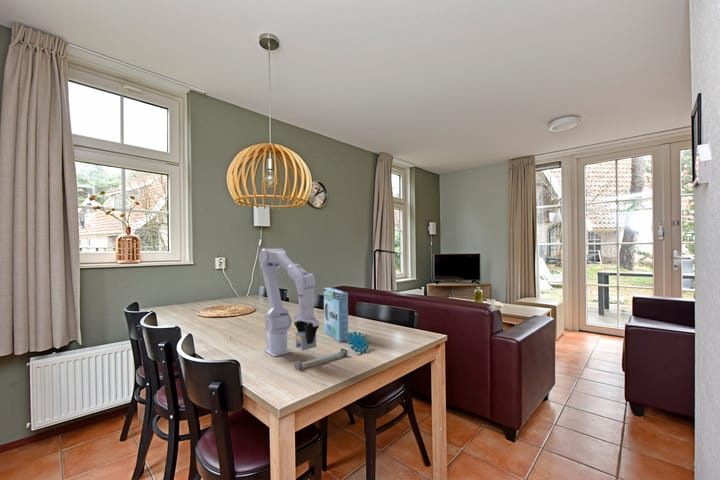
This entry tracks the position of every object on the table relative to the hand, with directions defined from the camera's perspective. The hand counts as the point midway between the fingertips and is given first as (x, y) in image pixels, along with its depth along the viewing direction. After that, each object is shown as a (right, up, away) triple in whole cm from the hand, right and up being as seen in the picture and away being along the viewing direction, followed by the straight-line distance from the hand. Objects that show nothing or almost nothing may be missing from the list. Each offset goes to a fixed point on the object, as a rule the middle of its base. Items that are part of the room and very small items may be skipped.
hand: (306, 341), depth 121 cm
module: (0, -2, 0) cm, 2 cm away
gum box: (+8, -9, +36) cm, 38 cm away
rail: (+6, -9, +2) cm, 11 cm away
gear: (+20, -9, +15) cm, 26 cm away
